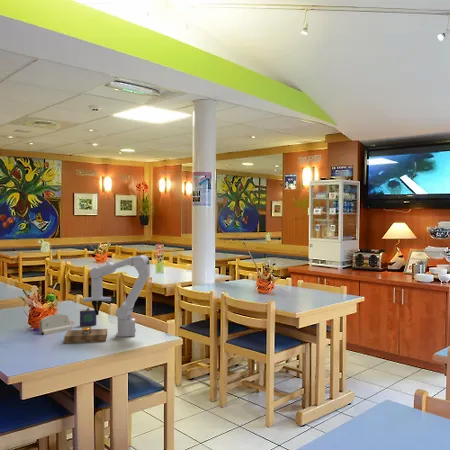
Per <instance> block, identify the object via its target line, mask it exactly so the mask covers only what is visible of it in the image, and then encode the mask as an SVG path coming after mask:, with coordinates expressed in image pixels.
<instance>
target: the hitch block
mask: <svg viewBox="0 0 450 450" xmlns="http://www.w3.org/2000/svg"><path fill="white" fill-rule="evenodd" d="M107 337H108V328H95V329H93V328H91V330H90V333H86V334H83V331H82V329H72V330H67V331H66V333H65V335H64V336H63V338H64V339H63V341H64V344H80V343H81V344H82V343H100V342H101V343H102V342H105V343H106V342H107Z"/></svg>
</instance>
